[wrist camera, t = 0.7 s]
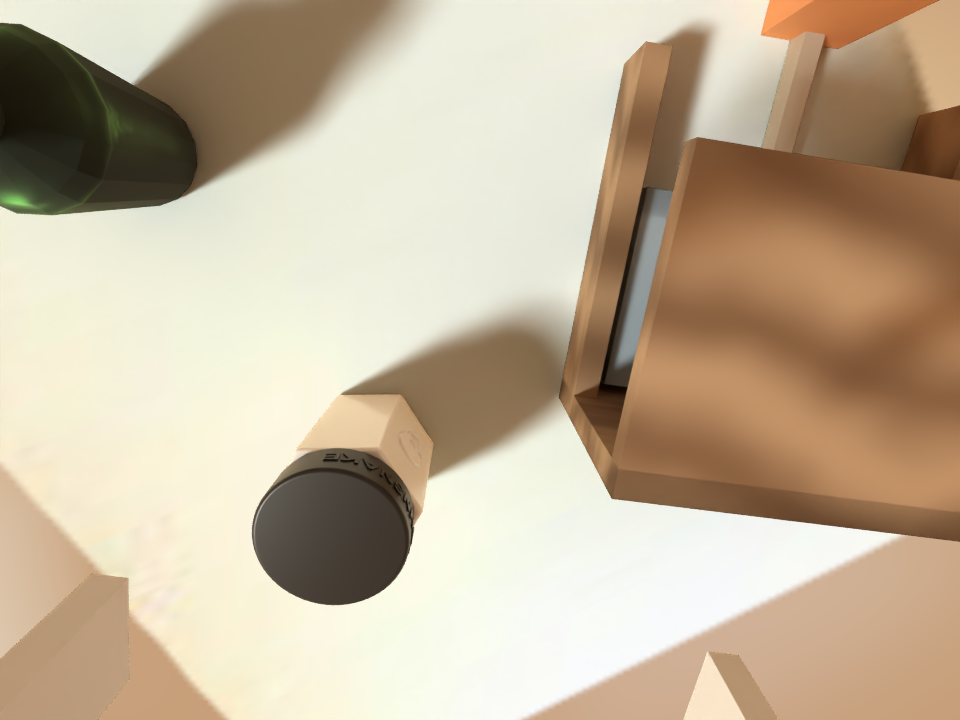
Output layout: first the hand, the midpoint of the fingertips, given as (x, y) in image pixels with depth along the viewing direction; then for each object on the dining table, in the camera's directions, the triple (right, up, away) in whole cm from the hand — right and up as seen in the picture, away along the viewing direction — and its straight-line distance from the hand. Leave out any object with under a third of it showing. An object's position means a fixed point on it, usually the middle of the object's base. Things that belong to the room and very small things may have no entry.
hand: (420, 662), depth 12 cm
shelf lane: (+19, +13, +23) cm, 33 cm away
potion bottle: (-20, +20, +21) cm, 35 cm away
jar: (-7, +1, +26) cm, 27 cm away
